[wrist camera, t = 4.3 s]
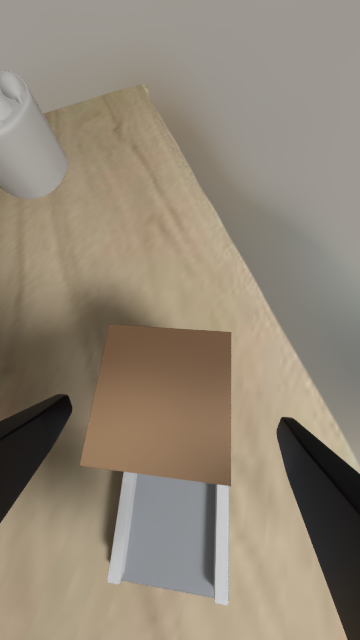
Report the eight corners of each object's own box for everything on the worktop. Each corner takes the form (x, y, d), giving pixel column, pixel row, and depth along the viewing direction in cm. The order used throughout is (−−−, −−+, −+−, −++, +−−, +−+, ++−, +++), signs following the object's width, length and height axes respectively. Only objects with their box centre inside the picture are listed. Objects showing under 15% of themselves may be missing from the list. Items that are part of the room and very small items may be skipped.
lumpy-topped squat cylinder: (55, 133, 32) (7, 46, 24) (78, 181, 28) (30, 96, 20) (-7, 157, 31) (-79, 75, 23) (7, 211, 27) (-74, 134, 19)
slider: (226, 588, 13) (231, 617, 12) (113, 567, 14) (102, 592, 12) (228, 364, 18) (231, 362, 16) (143, 358, 19) (138, 355, 17)
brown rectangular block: (213, 425, 16) (260, 515, 5) (148, 418, 16) (49, 484, 5) (215, 362, 17) (253, 318, 6) (155, 358, 18) (92, 309, 7)
